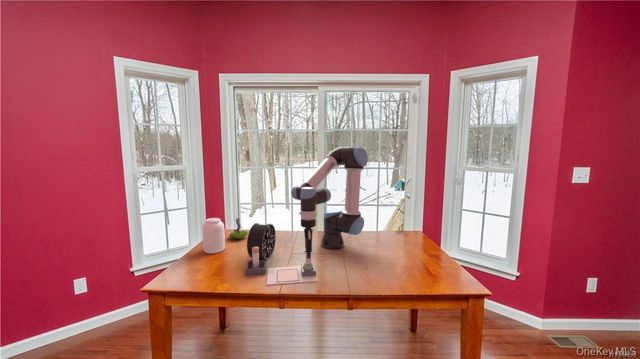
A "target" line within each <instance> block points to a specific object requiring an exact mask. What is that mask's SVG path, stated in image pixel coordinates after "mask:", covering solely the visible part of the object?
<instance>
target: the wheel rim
mask: <svg viewBox="0 0 640 359" xmlns="http://www.w3.org/2000/svg"><path fill="white" fill-rule="evenodd" d="M276 234H277V233H276V228H275V226H274V224H272V223H267V224H260V223H259V222H258V223H257V222H256V223H253V225H252V226H251V227H250V229H249V231H248V234H247V241H246V250H247V255H248V256H249V257H250V258H252V259H253V257H252V247H259V258H262V259H263V260H269V259H270V258H271V257H272V255H273V253H274V251H275V246H276V242H277V241H276V238H277V236H276Z"/></svg>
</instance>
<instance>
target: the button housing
mask: <svg viewBox="0 0 640 359" xmlns="http://www.w3.org/2000/svg"><path fill="white" fill-rule="evenodd" d="M300 266H301V274H302V277H305V276H316V277H317V271H316V267H315V264H313V270H310V271H304V265H300Z"/></svg>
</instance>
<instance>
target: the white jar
mask: <svg viewBox="0 0 640 359" xmlns="http://www.w3.org/2000/svg"><path fill="white" fill-rule="evenodd" d="M202 244H203V246H202V248H203V252H204V253H205V254H211V255H213V254H218V253H221V252H223V251H225V249H226V240H225V224H224V222H223V221H221V218H219V217H210V218H207V219H205V223H203V225H202Z"/></svg>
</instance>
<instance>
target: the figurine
mask: <svg viewBox="0 0 640 359" xmlns="http://www.w3.org/2000/svg"><path fill="white" fill-rule="evenodd" d="M235 223H236V225H237V228H236V229H233V231H234V232H233V231H232V232H230V233H229V235H228V237H230V238H231V239H232V238H234V239H235V240H236V239H237V240H239V239H242V238H244V237H246V236H248V234H249V232H248V231H247V230H240V229H242V227H241V223H240V217H239V218H237V217H236V219H235Z"/></svg>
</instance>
